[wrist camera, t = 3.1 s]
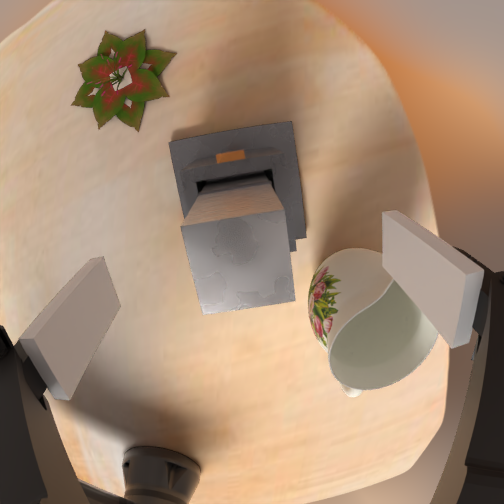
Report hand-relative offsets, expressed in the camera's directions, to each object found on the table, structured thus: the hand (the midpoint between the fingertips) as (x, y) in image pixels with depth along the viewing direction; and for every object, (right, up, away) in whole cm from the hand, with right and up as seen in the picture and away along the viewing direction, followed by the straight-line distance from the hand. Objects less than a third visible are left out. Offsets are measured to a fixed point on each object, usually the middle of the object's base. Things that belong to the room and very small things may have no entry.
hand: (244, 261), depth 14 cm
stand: (-1, +7, +18) cm, 19 cm away
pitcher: (+11, -3, +23) cm, 26 cm away
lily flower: (-13, +18, +14) cm, 26 cm away
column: (-1, +6, +17) cm, 18 cm away
